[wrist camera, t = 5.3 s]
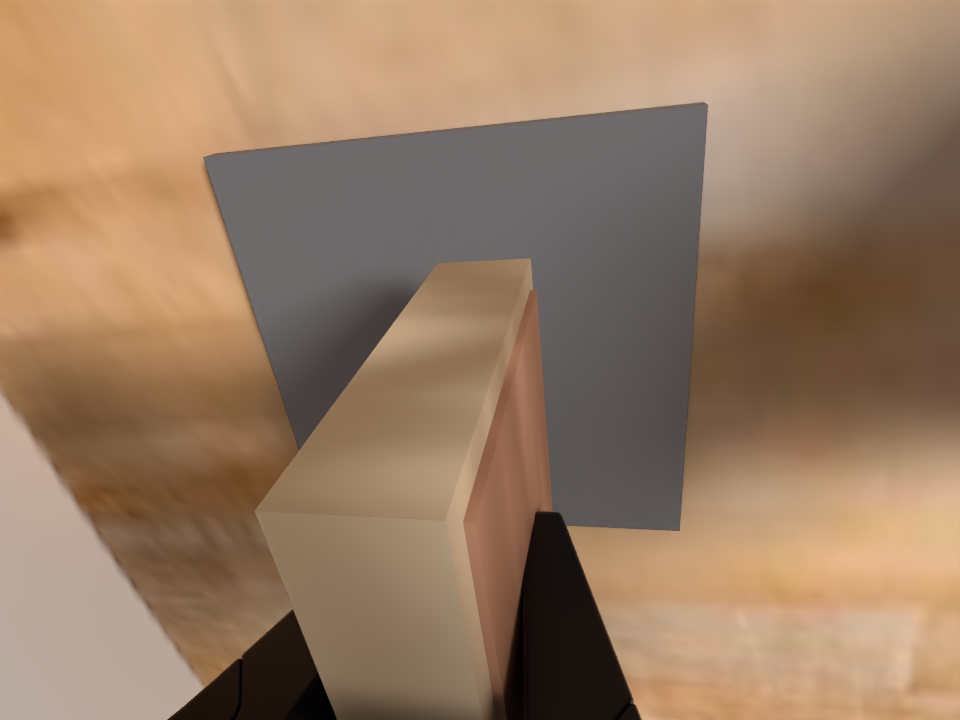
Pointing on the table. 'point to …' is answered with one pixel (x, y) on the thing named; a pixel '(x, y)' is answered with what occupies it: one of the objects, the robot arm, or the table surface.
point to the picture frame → (423, 506)
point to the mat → (497, 236)
